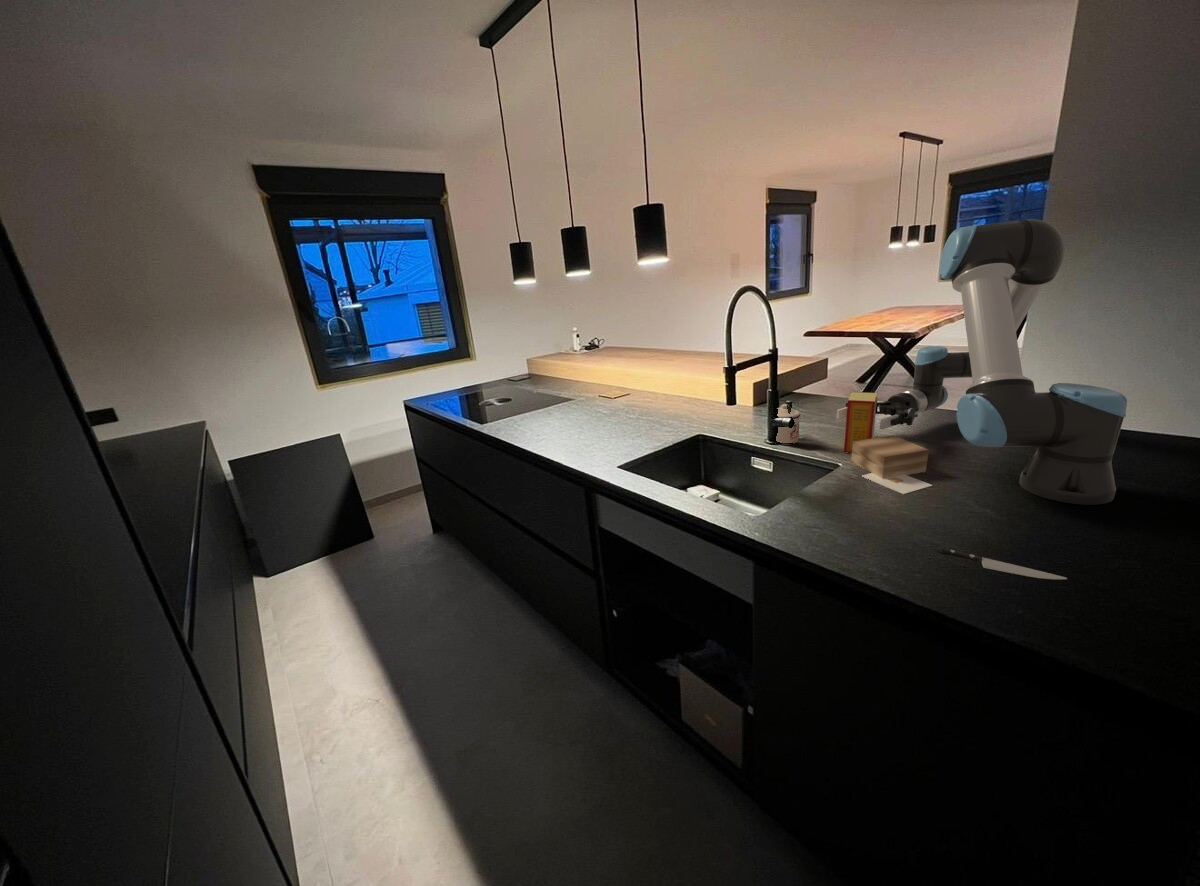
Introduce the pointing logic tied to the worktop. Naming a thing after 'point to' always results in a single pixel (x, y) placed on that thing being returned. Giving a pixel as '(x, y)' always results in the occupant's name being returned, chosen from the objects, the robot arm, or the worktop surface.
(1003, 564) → the chef's knife
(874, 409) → the baking soda box
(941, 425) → the worktop surface
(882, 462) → the base brick
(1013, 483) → the worktop surface
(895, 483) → the page
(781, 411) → the teacup with lid
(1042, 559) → the worktop surface
